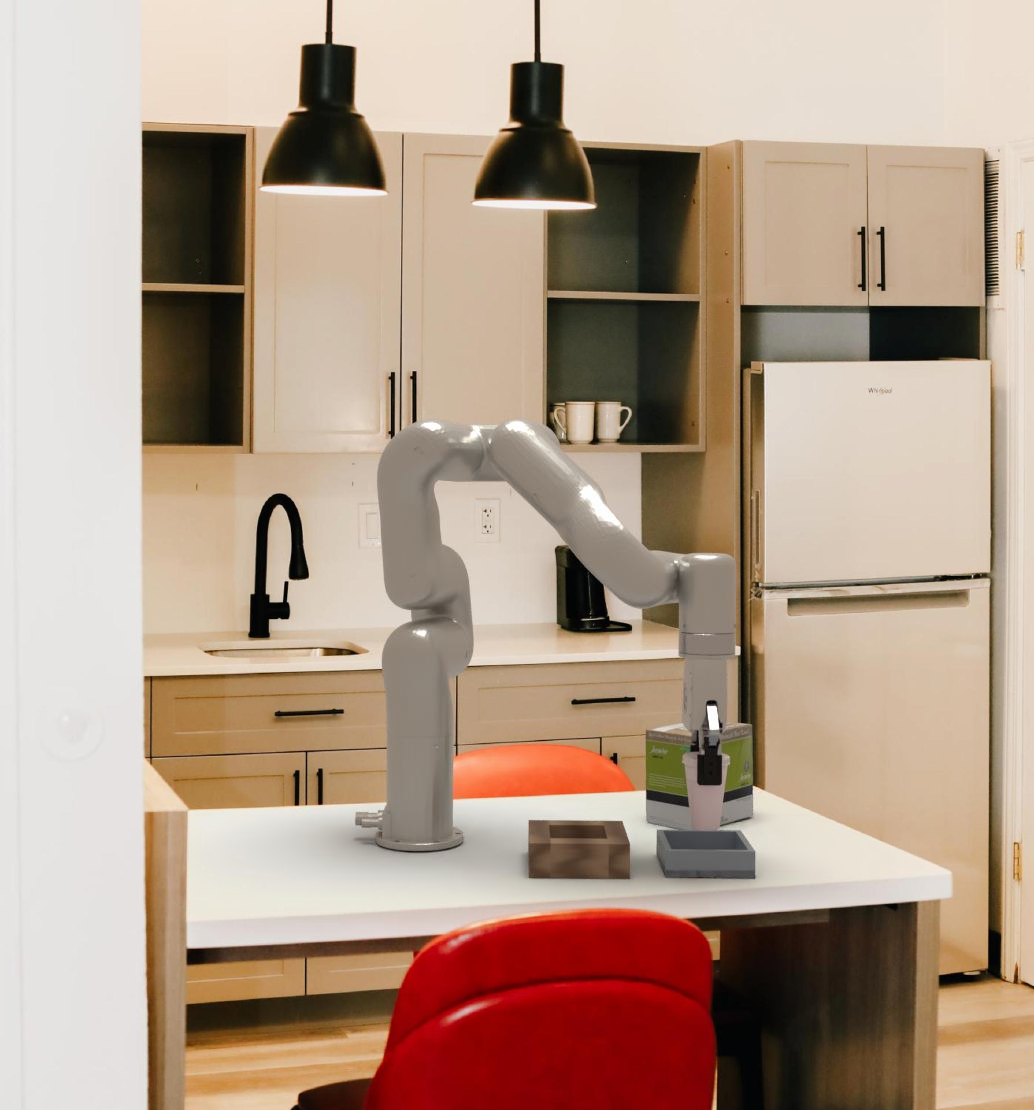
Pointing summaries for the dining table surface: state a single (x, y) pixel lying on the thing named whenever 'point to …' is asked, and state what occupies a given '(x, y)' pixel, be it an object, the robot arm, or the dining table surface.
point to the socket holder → (578, 849)
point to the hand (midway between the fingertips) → (705, 778)
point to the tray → (705, 854)
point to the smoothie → (704, 795)
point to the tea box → (669, 775)
